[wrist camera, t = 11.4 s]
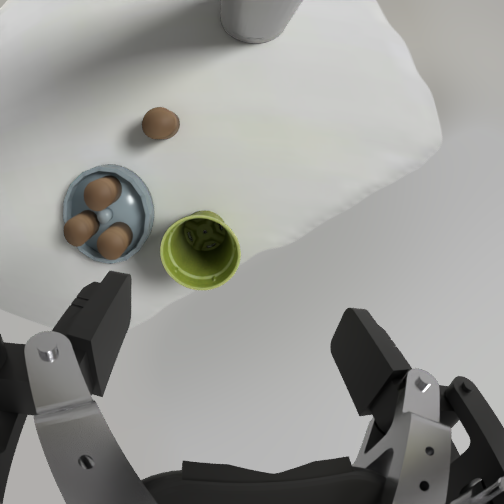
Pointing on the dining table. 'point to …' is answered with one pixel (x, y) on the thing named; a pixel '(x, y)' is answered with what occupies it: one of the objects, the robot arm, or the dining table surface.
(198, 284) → the plant pot
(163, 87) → the dining table surface
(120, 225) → the seated bead
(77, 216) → the seated bead
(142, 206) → the grey-blue shallow round dish
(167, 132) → the pile bead
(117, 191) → the brown rounded dome
